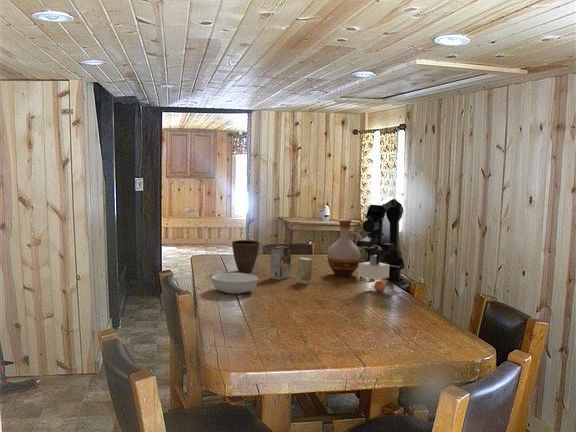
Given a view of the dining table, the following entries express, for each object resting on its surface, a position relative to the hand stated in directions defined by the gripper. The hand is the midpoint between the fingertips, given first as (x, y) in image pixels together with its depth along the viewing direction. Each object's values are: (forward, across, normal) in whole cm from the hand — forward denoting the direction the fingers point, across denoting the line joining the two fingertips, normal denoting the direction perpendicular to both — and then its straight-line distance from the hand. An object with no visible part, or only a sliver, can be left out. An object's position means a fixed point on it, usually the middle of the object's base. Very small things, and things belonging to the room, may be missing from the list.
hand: (374, 263), depth 256 cm
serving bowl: (+14, -38, -53) cm, 67 cm away
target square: (+13, +5, 0) cm, 14 cm away
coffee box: (+13, -48, -16) cm, 52 cm away
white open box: (+6, 0, 0) cm, 6 cm away
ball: (+11, +4, 0) cm, 11 cm away
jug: (+13, -31, +17) cm, 38 cm away
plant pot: (+13, -71, -20) cm, 75 cm away
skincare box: (+13, -32, -14) cm, 37 cm away
